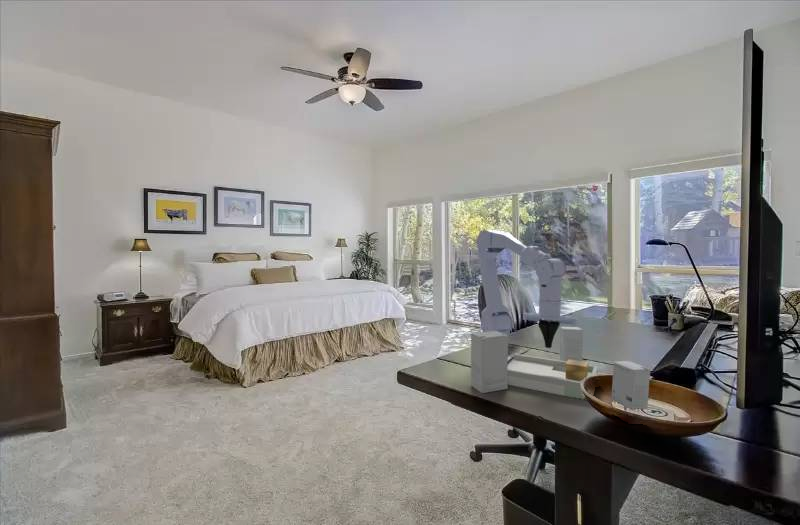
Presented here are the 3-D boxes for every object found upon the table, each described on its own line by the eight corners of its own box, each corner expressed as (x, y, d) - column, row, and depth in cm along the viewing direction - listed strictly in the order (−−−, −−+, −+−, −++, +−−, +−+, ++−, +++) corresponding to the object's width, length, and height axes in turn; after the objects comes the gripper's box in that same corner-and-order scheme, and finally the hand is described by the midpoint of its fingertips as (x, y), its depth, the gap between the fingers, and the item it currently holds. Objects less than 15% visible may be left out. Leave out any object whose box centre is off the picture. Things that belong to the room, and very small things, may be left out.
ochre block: (565, 378, 100) (565, 363, 100) (567, 373, 104) (568, 359, 104) (586, 381, 98) (586, 366, 97) (587, 376, 102) (588, 362, 102)
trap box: (498, 382, 103) (498, 368, 103) (514, 366, 118) (514, 353, 118) (592, 401, 91) (593, 385, 91) (597, 380, 106) (597, 366, 106)
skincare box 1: (495, 382, 103) (496, 329, 103) (508, 390, 98) (509, 334, 97) (469, 386, 100) (470, 331, 100) (481, 394, 95) (482, 336, 94)
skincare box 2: (577, 362, 123) (578, 326, 123) (582, 366, 119) (583, 329, 119) (558, 361, 124) (559, 326, 123) (563, 365, 120) (564, 329, 119)
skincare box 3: (609, 413, 84) (611, 360, 84) (626, 412, 85) (628, 360, 85) (630, 426, 78) (632, 369, 78) (649, 424, 79) (651, 368, 78)
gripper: (520, 299, 106) (519, 346, 107) (575, 304, 99) (574, 354, 99) (526, 297, 112) (525, 341, 113) (578, 301, 105) (577, 348, 105)
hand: (548, 347), depth 107 cm, fingers closed
